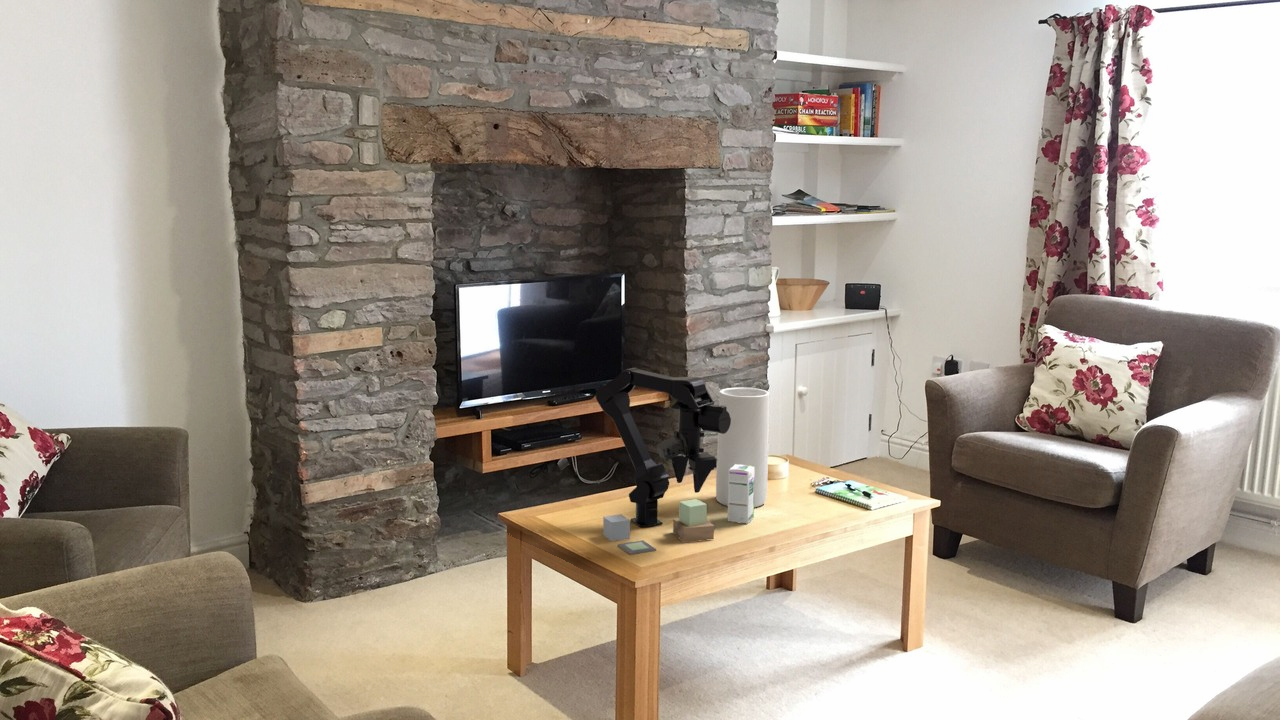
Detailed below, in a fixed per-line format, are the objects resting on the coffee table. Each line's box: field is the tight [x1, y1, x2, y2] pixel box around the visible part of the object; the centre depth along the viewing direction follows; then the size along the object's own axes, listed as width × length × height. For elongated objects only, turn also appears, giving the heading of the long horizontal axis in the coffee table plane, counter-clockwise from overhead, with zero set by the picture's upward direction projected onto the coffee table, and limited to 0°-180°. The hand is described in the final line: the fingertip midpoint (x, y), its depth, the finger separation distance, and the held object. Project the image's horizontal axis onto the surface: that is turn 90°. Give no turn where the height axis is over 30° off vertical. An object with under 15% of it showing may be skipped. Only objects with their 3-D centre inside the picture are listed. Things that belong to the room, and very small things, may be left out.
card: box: [617, 539, 657, 555], centre depth 251 cm, size 7×7×1 cm
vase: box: [715, 387, 770, 508], centre depth 288 cm, size 14×14×32 cm
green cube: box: [678, 498, 708, 526], centre depth 260 cm, size 5×5×5 cm
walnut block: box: [672, 517, 715, 543], centre depth 261 cm, size 8×8×4 cm
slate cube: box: [602, 513, 631, 542], centre depth 259 cm, size 5×5×5 cm
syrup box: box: [727, 464, 755, 525], centre depth 273 cm, size 6×6×14 cm
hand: (688, 487), depth 262 cm, fingers open, 9 cm apart
